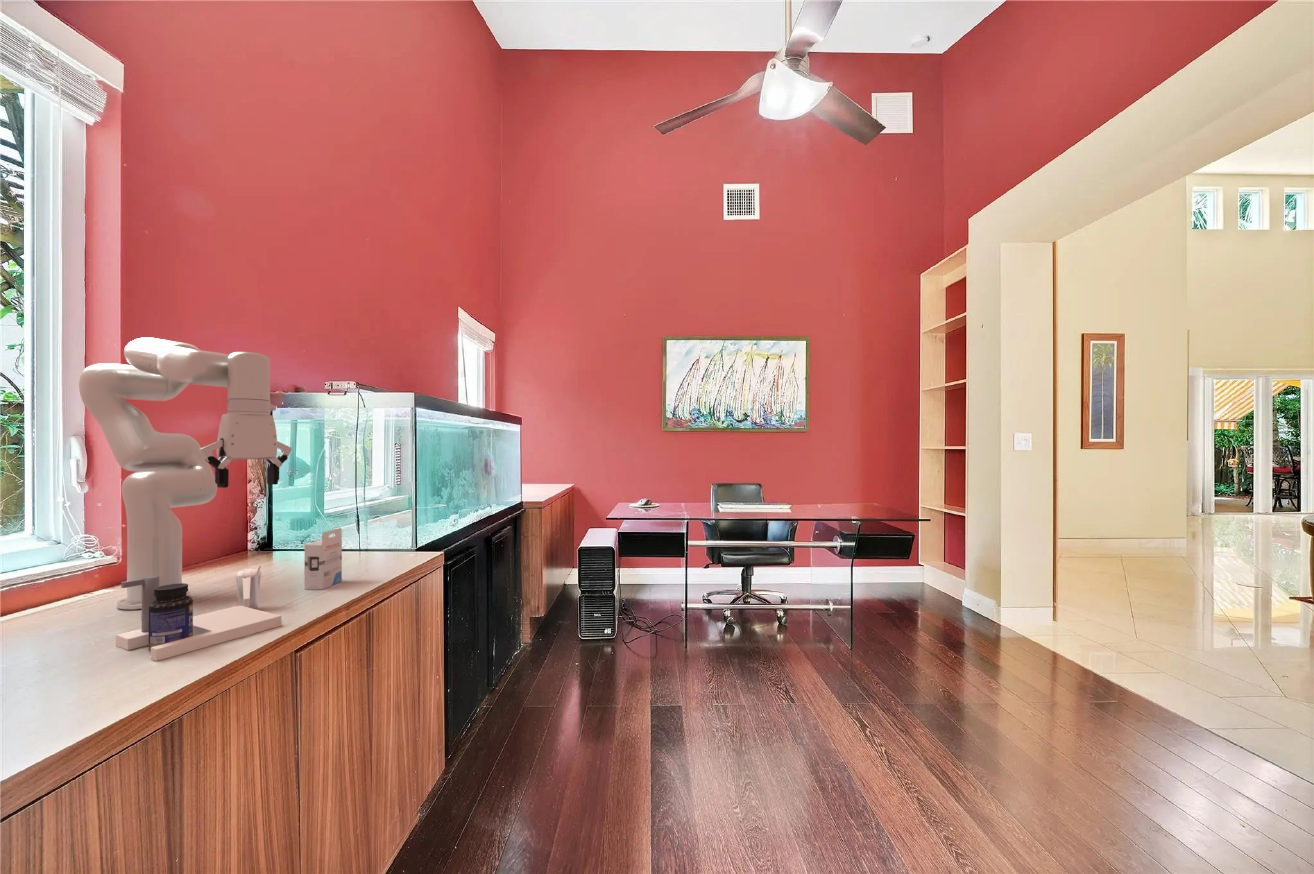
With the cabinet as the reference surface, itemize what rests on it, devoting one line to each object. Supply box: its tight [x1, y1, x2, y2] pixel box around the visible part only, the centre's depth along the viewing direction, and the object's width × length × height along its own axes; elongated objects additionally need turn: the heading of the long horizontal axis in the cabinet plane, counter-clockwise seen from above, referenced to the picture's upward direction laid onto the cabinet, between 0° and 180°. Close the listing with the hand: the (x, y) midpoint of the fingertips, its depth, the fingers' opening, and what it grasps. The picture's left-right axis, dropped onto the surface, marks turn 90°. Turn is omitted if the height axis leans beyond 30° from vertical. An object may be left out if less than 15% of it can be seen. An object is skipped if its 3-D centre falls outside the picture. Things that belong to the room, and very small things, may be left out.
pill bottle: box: [148, 582, 194, 651], centre depth 98 cm, size 6×6×11 cm
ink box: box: [303, 527, 343, 591], centre depth 141 cm, size 9×5×15 cm, turn 179°
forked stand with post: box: [115, 576, 282, 662], centre depth 104 cm, size 16×20×12 cm
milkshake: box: [235, 565, 262, 610], centre depth 120 cm, size 5×5×10 cm
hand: (248, 485), depth 117 cm, fingers open, 9 cm apart
